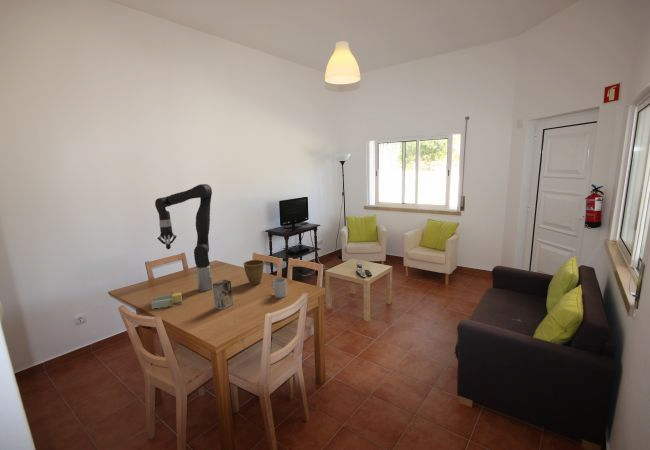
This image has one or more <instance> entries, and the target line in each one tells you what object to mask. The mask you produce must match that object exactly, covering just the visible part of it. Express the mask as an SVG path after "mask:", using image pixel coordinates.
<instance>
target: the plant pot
mask: <svg viewBox="0 0 650 450" xmlns="http://www.w3.org/2000/svg"><path fill="white" fill-rule="evenodd" d="M264 266H265V261H264V260H262V259H251V260H247V261H245V262H243V269H244V272H245V276H246V278H247V279H248V281H249V284H250V285H253V286H254V285H259V284H261V282H262V277H263V273H264V268H265V267H264Z"/></svg>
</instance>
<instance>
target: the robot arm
mask: <svg viewBox="0 0 650 450" xmlns="http://www.w3.org/2000/svg"><path fill="white" fill-rule="evenodd" d="M212 195H213V189H212V186H211V185H209V184H208V183H204V184H203V183H202V184H198V185H196V186H193V187H191V188H188V189H187V190H184V191H180V192H177V193H173V194H169V195H168V196H165V197H158V198H157V199H155V201H154V206H155V209H156V212H157V213H158V218H159V228H160V234H159V236H158V237H157V240H158V241H159V242H160V243H161V244H163V245H165V249H167V250H170V249H171V247H172V245H171V244H173V243H174V242H175V240H176V238H177V237H178V236H177V235H176V234H174V232H173V227H172V219H171V213H170V211H168V210H167V209H166V208H167V207H172V206H174V205H178V204H181V203H184V202H186V201H189V200H192V199H200V202H199V207H198V210H197V211H196V214H195V230H196V235H197V241H196V245H195V247H194V249H193V256H194V262H195V267H196V276H197V286H198V288H197V289H198V291H200V292H205V291H210V290H213V281H212V271H211V262H210V258H209V252H210V245H209V244H210V243H209V233H210V225H211V224H210V223H211V216H210V215H211V201H212ZM171 239H172V240H171Z"/></svg>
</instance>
